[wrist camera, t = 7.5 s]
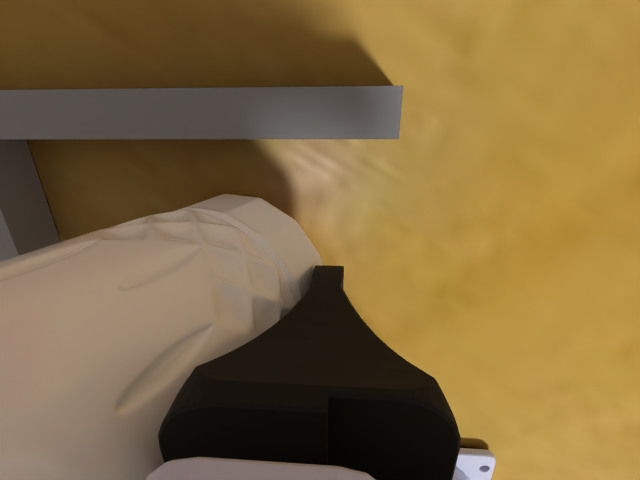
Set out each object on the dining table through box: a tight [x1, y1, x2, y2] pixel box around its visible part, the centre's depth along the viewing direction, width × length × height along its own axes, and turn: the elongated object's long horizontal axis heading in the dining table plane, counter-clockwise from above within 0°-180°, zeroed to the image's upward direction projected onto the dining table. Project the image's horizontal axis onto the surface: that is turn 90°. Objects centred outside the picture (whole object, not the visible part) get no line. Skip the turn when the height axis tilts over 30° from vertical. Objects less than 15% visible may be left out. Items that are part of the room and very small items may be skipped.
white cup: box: [0, 194, 323, 480], centre depth 10 cm, size 8×8×10 cm
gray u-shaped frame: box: [0, 86, 403, 261], centre depth 14 cm, size 14×16×2 cm
